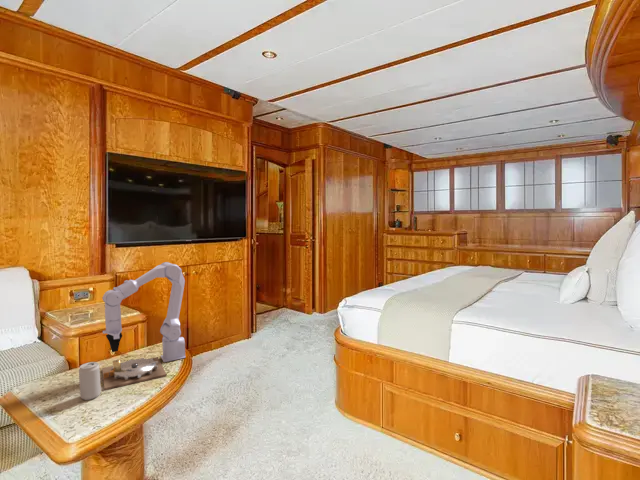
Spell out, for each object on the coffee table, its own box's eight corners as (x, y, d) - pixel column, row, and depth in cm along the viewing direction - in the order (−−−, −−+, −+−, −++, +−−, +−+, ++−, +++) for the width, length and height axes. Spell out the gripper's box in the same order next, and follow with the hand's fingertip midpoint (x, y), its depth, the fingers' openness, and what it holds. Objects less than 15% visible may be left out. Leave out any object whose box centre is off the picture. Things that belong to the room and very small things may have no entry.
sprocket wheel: (152, 357, 167) (152, 345, 166) (163, 371, 152) (162, 358, 152) (107, 368, 156) (106, 355, 155) (113, 384, 141) (112, 370, 141)
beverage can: (104, 392, 137) (103, 361, 136) (92, 401, 131) (90, 369, 130) (88, 391, 138) (87, 360, 137) (76, 400, 132) (74, 368, 131)
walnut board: (157, 358, 168) (157, 353, 168) (166, 376, 151) (166, 370, 151) (102, 369, 157) (101, 364, 156) (104, 390, 139) (104, 384, 139)
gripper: (100, 316, 155) (101, 348, 156) (104, 325, 144) (106, 359, 145) (118, 314, 159) (120, 344, 161) (124, 322, 148) (126, 354, 149)
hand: (114, 351), depth 153 cm, fingers closed
